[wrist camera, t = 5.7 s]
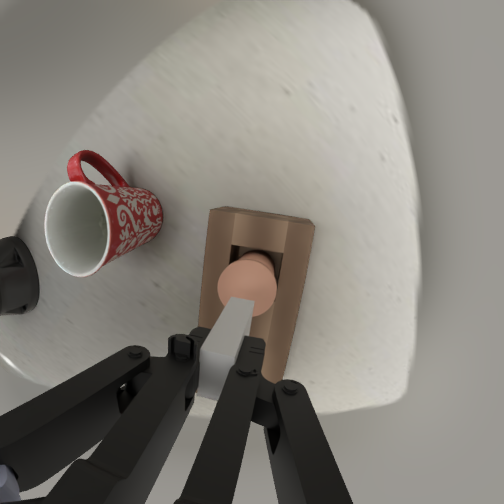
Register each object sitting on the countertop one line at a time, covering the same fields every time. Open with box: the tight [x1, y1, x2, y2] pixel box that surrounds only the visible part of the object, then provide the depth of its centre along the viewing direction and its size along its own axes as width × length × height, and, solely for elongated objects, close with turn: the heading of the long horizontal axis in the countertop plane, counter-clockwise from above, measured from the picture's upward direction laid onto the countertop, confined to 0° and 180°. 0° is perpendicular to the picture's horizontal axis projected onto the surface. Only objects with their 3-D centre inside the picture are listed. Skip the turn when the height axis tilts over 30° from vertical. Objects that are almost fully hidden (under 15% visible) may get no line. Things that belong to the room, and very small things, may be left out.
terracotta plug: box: [217, 250, 277, 317], centre depth 26 cm, size 5×5×7 cm
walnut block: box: [196, 206, 315, 393], centre depth 32 cm, size 10×22×7 cm, turn 172°
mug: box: [44, 150, 163, 277], centre depth 28 cm, size 13×9×14 cm
